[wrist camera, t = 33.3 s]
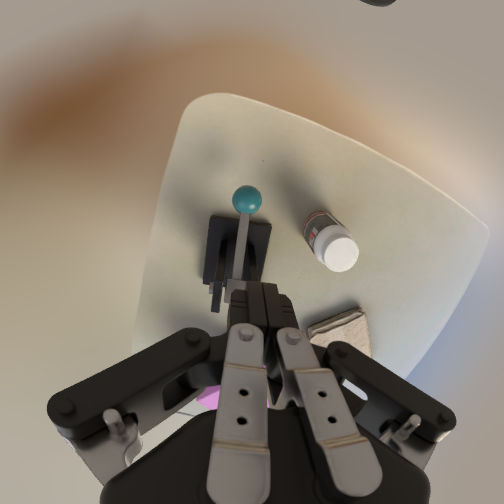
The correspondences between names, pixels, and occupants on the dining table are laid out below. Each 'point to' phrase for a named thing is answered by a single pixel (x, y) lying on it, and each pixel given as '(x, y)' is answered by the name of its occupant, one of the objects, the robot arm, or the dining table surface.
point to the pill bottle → (330, 241)
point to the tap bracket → (233, 254)
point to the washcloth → (343, 331)
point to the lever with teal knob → (241, 234)
